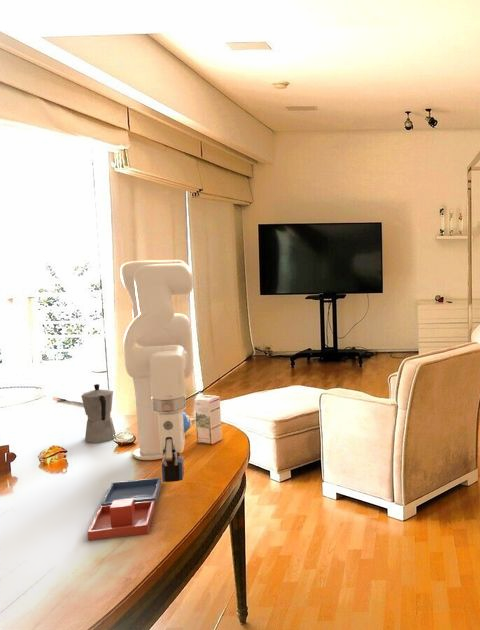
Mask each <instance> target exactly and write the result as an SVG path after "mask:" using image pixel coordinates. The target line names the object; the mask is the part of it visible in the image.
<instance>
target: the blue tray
mask: <svg viewBox="0 0 480 630" xmlns="http://www.w3.org/2000/svg"><path fill="white" fill-rule="evenodd" d="M162 483H163V480H162V477H153V478H144V479H133V480H132V479H131V480H123V481H112V482H111V483H110V485H109V487H108V489H107V490H106V493H105V495H104V497H103V499H102V501H101V503H100V506H107V505H112V502H113V500H122V499H132V498H134V503H135V502H144V501H154V500H155V507H156V506H157V502H158V499H159V495H160V492H161V489H162V485H163V484H162Z"/></svg>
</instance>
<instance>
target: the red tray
mask: <svg viewBox="0 0 480 630" xmlns="http://www.w3.org/2000/svg"><path fill="white" fill-rule="evenodd" d="M134 506H135V518H134V521H133V524H131V525H122V526H113V527H111V517H110V507H111V505H107V506H101V505H100V506H99V508H98V510H97V512H96V514H95V516H94V518H93V520H92V522H91V524H90V526H89V528H88V530H87V540H88V541H95V540H104V539H112V538H119V537H129V536H137V535H147V534H148V533H149V531H150V527H151V524H152V520H153V516H154V513H155V510H156V506H155V500H154V501H144V502H135V503H134Z"/></svg>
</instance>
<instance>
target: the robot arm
mask: <svg viewBox="0 0 480 630" xmlns="http://www.w3.org/2000/svg"><path fill="white" fill-rule="evenodd" d="M119 273H120V279H121V282H122V284H123V287H124V288H125V290H126V292H127V294H128V296H129V299H130V302H131V311H132V321H131V322H130V324H129V325H128V327H127V328H126V331H125V332H124V337H123V342H122V343H123V344H122V346H123V355H124V356H123V358H124V366H125V370H126V373H127V375H128V376H129V377H131V378H132V382H133V387H134V388H133V389H134V396H135V408H136V409H135V410H136V423H137V424H136V425H137V439H138V448H137V449H135V450H134V451H133V457H134V459H137V460H141V461H157V460H163V458H165V465H164V471H165V482H164V483H173V482H180V481H179V479H180V477H179V464H177V456H181V455H180V454H182V453H183V452H184V449H185V445H186V436H185V434H186V433H184V422H183V412H184V411H185V410H187V395H186V379H189V378H190V377H192V374H193V372H194V355H193V354H194V353H193V333H192V332H193V331H192V325H191V321H190V319H189V317H188V316H187V315H186V314H185V313H181V312H180V313H179V312H177V313H176V312H175V307H174V303H173V296H178V295H180V296H181V295H188V294H191V293H192V291H193V287H194V276H193V272H192V270H191V268H190V266H189V264H188V263H186V262H185V261H184V260H182V259H158V260H157V259H150V260H149V259H148V260H147V259H146V260H133V261H127V262H124V263H122V265H121V267H120V272H119ZM136 345H137V346H138V347H137V346H136ZM182 411H183V412H182ZM174 457H175V458H174Z"/></svg>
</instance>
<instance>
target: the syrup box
mask: <svg viewBox="0 0 480 630" xmlns="http://www.w3.org/2000/svg"><path fill="white" fill-rule="evenodd" d="M194 412H195V413H194V414H195V418H196V422H195V429H196V431H195V432H196V442H197V443H198V444H204V445H205V444H207V445H214V444H215V443H218V442H219V441H222V440H223V432H222V417H221V415H222V414H221V398H220V396H219V395H209V394H203V395H200V396H198V397H196V398H194Z"/></svg>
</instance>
